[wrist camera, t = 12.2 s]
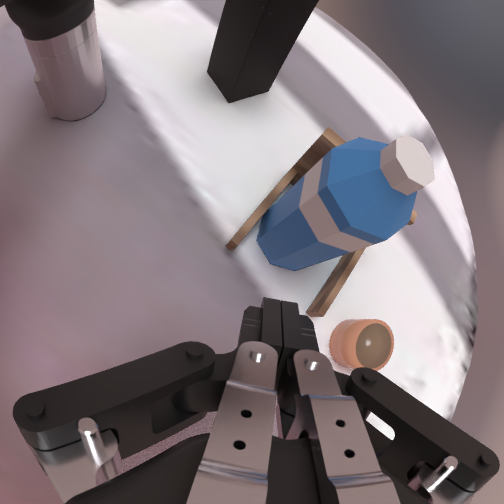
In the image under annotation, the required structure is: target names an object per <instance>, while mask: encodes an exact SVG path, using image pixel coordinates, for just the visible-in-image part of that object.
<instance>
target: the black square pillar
mask: <svg viewBox="0 0 504 504" xmlns="http://www.w3.org/2000/svg"><path fill="white" fill-rule="evenodd" d="M318 1H319V0H226V2H225V5H224V9H223V12H222V16H221V20H220V23H219V27H218V30H217V34H216V38H215V42H214V46H213V50H212V54H211V58H210V62H209V66H208V70H207V72H208V73H209V75H210V76H211V78H212V79H213V81H214V82H215V83H216V85H217V86H218V88H219V89H220V91H221V92H222V94H223V95H224V97H225V98H226V99H227V101H228V102H229V103H230V102H233V101H236V100H240V99H243V98H246V97H250V96H253V95H257V94H260V93H264V92H268V91H269V89H270V87H271V86H272V84H273V82H274V80H275V78H276V76H277V74H278V72H279V70H280V69H281V67H282V65H283V63H284V61H285V59H286V57H287V56H288V54H289V52H290V50H291V48H292V46H293V45H294V43H295V41H296V39H297V37H298V36H299V34H300V32H301V30H302V29H303V27H304V25H305V23H306V22H307V20H308V18H309V16H310V15H311V13H312V11H313V9H314V8H315V6H316V4H317V3H318Z"/></svg>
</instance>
